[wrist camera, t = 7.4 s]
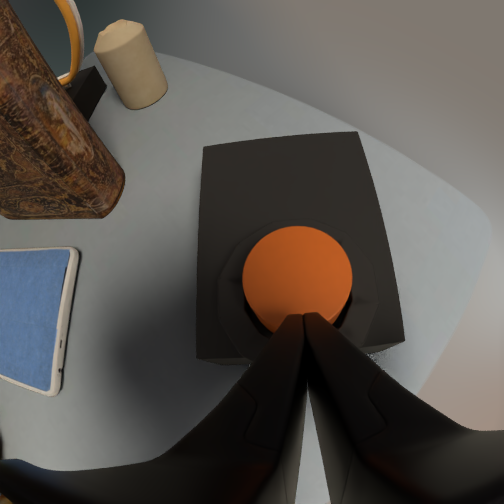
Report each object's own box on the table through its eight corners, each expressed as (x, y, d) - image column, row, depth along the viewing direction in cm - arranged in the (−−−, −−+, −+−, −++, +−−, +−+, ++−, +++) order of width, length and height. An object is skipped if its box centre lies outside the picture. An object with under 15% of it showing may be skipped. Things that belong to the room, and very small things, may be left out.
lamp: (16, 153, 33) (-103, 1, 4) (42, 108, 36) (-54, -36, 7) (108, 126, 30) (-21, -100, 1) (132, 78, 33) (39, -118, 5)
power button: (348, 335, 13) (359, 324, 10) (253, 343, 13) (243, 334, 11) (337, 247, 14) (343, 220, 12) (250, 255, 15) (240, 230, 12)
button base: (381, 366, 18) (420, 357, 11) (221, 379, 19) (182, 377, 12) (349, 177, 23) (360, 110, 17) (220, 190, 24) (195, 127, 18)
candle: (167, 101, 30) (133, 26, 21) (121, 115, 31) (81, 48, 22) (169, 74, 32) (142, 7, 23) (128, 88, 33) (95, 26, 24)
